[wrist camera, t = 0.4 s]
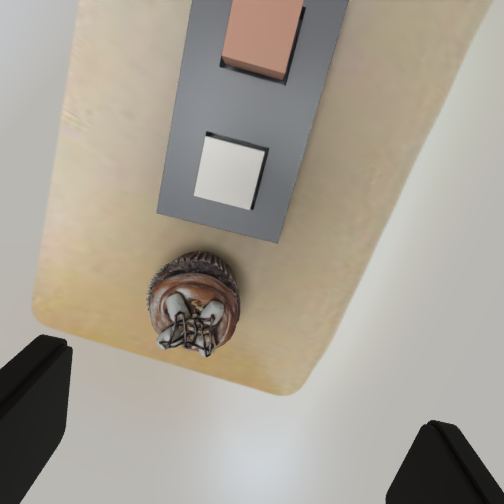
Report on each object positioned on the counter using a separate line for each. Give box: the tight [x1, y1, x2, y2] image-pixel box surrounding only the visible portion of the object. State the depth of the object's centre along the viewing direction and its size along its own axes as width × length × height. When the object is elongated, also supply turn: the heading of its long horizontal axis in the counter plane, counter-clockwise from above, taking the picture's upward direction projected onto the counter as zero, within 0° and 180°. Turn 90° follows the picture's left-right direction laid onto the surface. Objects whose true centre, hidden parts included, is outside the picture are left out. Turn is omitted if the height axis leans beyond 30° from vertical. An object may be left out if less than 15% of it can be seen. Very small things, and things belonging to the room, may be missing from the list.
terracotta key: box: [222, 0, 304, 80], centre depth 26 cm, size 5×5×3 cm
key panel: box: [157, 0, 349, 244], centre depth 31 cm, size 22×12×4 cm, turn 166°
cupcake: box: [146, 251, 240, 357], centre depth 34 cm, size 10×10×10 cm
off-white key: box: [194, 136, 265, 210], centre depth 30 cm, size 5×5×3 cm
